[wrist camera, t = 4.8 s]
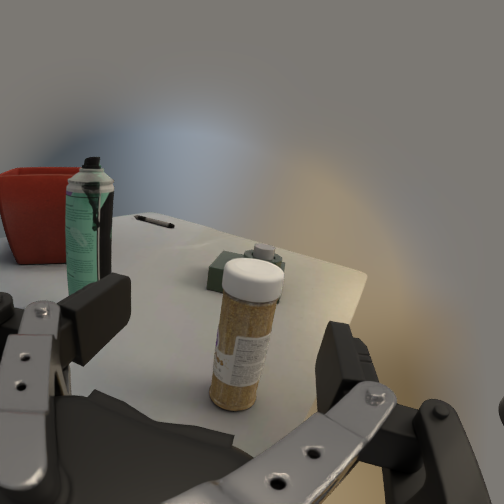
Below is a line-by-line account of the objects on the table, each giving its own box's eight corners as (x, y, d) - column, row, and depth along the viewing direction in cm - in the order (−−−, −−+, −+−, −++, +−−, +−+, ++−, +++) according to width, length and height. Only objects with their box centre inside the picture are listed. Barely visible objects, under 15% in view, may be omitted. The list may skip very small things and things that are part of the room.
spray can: (121, 327, 34) (126, 158, 28) (85, 341, 29) (81, 157, 23) (99, 309, 36) (102, 156, 31) (65, 320, 32) (61, 155, 26)
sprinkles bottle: (205, 381, 28) (220, 254, 24) (249, 380, 29) (274, 257, 25) (212, 414, 23) (231, 276, 20) (262, 411, 25) (294, 279, 21)
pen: (172, 228, 84) (172, 224, 83) (131, 218, 89) (132, 214, 89) (174, 228, 85) (175, 223, 84) (134, 217, 90) (135, 213, 90)
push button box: (281, 282, 57) (287, 252, 56) (278, 303, 48) (285, 269, 46) (220, 270, 58) (224, 240, 57) (206, 289, 49) (210, 254, 47)
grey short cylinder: (274, 256, 53) (276, 245, 52) (272, 263, 50) (274, 251, 49) (254, 253, 53) (255, 242, 53) (251, 258, 50) (253, 247, 49)
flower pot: (93, 269, 48) (96, 173, 43) (-2, 272, 37) (-7, 175, 33) (89, 239, 63) (93, 167, 58) (16, 241, 52) (16, 167, 48)
